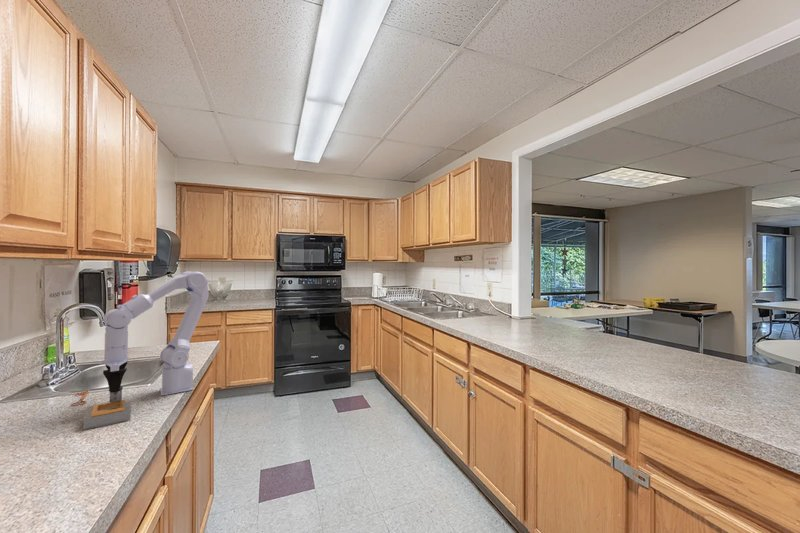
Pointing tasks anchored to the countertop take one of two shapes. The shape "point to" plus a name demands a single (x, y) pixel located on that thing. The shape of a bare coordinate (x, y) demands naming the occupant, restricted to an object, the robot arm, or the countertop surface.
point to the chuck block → (107, 414)
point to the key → (81, 398)
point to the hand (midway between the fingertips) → (115, 387)
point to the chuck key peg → (116, 395)
